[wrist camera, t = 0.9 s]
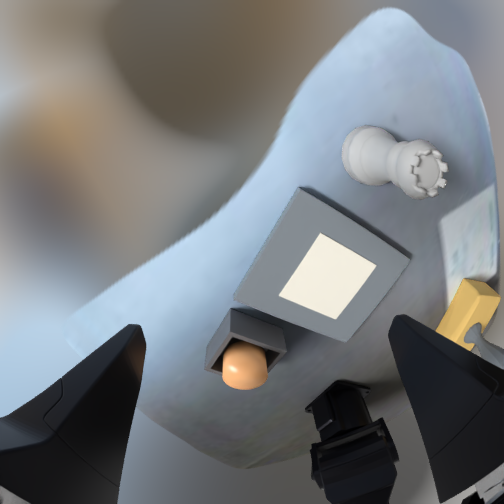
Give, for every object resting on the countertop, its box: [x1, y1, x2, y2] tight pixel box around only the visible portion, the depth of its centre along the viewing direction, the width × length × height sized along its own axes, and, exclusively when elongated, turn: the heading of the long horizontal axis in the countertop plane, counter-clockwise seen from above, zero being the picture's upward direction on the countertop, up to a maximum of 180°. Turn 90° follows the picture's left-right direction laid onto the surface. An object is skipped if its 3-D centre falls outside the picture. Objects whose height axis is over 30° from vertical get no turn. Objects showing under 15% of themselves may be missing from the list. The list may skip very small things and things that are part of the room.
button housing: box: [204, 308, 287, 376], centre depth 23 cm, size 5×5×3 cm
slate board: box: [234, 187, 410, 343], centre depth 22 cm, size 12×10×1 cm
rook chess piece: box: [342, 125, 449, 200], centre depth 15 cm, size 4×4×8 cm
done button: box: [223, 341, 268, 390], centre depth 21 cm, size 4×4×2 cm
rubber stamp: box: [436, 278, 504, 369], centre depth 21 cm, size 10×6×12 cm, turn 169°
